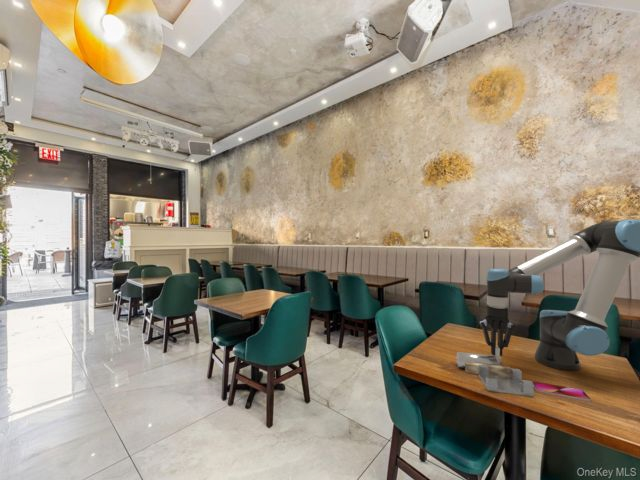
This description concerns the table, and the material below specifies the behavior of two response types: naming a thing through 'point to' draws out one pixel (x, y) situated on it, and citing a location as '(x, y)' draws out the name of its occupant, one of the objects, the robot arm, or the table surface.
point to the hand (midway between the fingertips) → (496, 362)
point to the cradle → (506, 382)
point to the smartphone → (561, 391)
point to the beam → (493, 369)
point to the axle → (475, 359)
